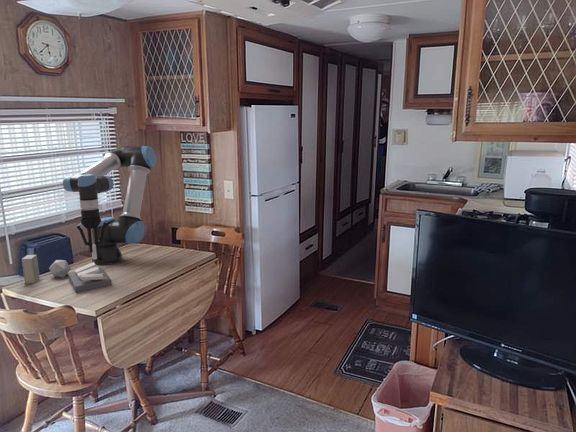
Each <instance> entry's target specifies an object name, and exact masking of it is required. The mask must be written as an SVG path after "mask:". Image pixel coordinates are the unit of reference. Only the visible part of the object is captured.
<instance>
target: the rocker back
mask: <svg viewBox="0 0 576 432" xmlns="http://www.w3.org/2000/svg"><path fill="white" fill-rule="evenodd" d="M94 267H97V264H95V263H94V262H92V261H91V262H90V263H88V264H86V265H84V266H80V267H78V268H75V269H74V272H76V274H77V273H79V272H82V271H85V270H88V269H91V268H94Z"/></svg>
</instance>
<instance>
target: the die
mask: <svg viewBox="0 0 576 432" xmlns="http://www.w3.org/2000/svg"><path fill="white" fill-rule="evenodd" d="M48 269H49V271H50V272H51V274H52V275H53V277H54V278H65V277H66V275H68V273H70V271H71V270H72V268H71V267H70V265H69V263H68V262H67V260H63V259H56V260H54V262H53V263H52V264H51V265H50V266H49V267H48Z"/></svg>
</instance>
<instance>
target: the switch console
mask: <svg viewBox="0 0 576 432" xmlns="http://www.w3.org/2000/svg"><path fill="white" fill-rule="evenodd" d="M98 268H99V271H100V272H98V273H95V274H102V275H103V276H104V279H99V280H81V279H79V277H78V275H77V274H76V272H75V271H73V272H68V273H67V276H68V280H69V282H70V284H71V286H72V288H73V291H74V293H75V294H79V293H83V292H89V291H93V290H99V289H103V288H109V287H112V286H113V282H112V278H110V276H109V275H108V274H107V271H105V270H104V268H103V267H98Z"/></svg>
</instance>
